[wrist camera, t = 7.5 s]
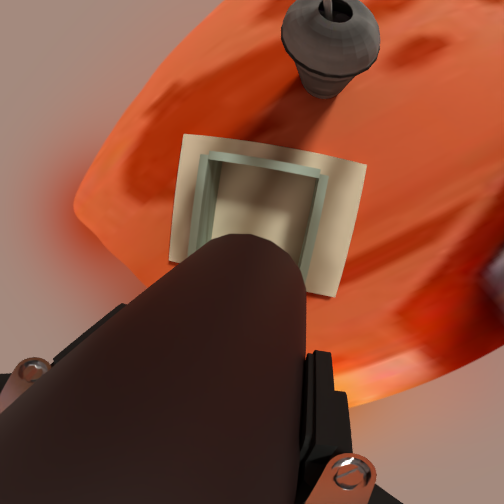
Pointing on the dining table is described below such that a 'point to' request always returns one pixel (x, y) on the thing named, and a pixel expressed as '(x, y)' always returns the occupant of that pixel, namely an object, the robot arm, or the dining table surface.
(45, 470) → the vinegar
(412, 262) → the dining table surface
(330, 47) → the beverage cup
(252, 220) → the bottle caddy
